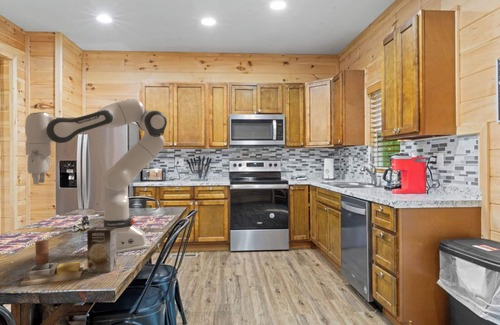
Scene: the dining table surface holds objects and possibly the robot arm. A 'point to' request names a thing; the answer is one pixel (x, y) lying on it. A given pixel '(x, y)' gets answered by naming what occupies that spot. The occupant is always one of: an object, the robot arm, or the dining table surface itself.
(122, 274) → the dining table surface
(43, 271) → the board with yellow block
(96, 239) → the coffee box
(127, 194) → the robot arm
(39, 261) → the terracotta peg
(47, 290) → the dining table surface
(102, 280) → the dining table surface
